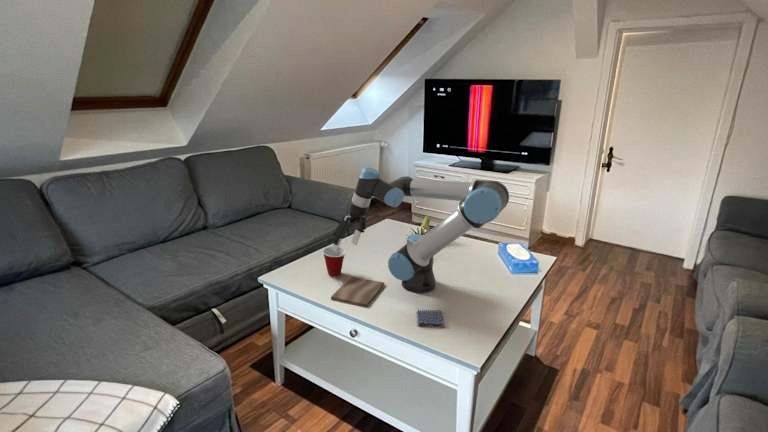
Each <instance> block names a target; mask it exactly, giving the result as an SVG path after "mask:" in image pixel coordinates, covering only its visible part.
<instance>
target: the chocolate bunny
mask: <svg viewBox="0 0 768 432" xmlns="http://www.w3.org/2000/svg"><path fill="white" fill-rule="evenodd" d="M430 223H431V218H430V217H429V216H428V215H425V217H424V219H423V222H422V223H421V225H420V227H419V229H420V228H424V229H426V230H427V232H429V231H430V230H431V229H432V228H431V227H430Z"/></svg>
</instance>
